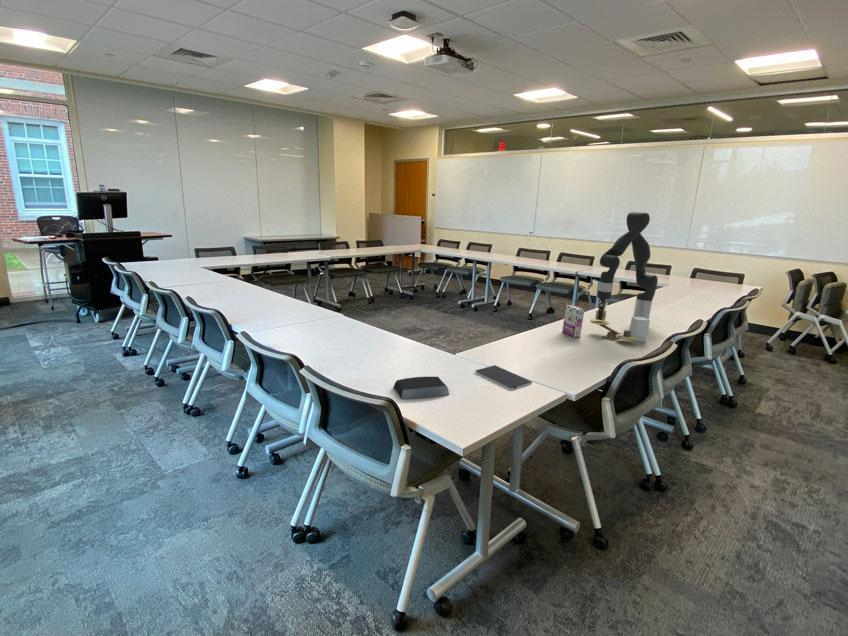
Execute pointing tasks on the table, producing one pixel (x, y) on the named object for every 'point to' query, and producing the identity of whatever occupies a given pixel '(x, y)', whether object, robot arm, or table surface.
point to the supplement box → (639, 328)
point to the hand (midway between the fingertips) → (600, 318)
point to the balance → (613, 333)
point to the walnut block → (602, 316)
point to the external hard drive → (420, 388)
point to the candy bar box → (573, 320)
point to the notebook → (503, 377)
